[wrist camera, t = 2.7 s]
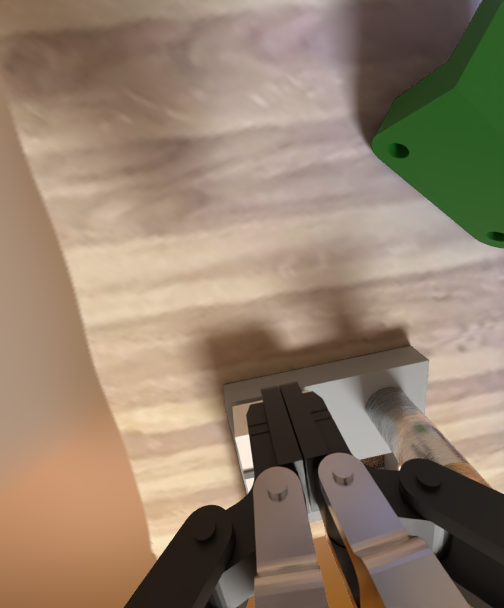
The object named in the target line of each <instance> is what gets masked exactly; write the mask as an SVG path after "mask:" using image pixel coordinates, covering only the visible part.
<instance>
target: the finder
mask: <svg viewBox="0 0 504 608" xmlns="http://www.w3.org/2000/svg"><path fill="white" fill-rule="evenodd" d="M306 392H309V391H303V392H302V393H306ZM260 402H263V401H262V400H261V401H256V402H251V403H247V404H242V405H237V406H233V407H232V409H233V421H234V433H235V440H236V444H237V448H238V452H239V456H240V460H241V464H242V468H243V474H244V478H245V481H246V485H247V489H248V493H249V491H250V490H251V488H252V485H253V482H254V468H253V461H252V454H251V447H250V440H249V433H248V425H247V418H246V414H247V411H248V409H249V406H250V405H251V404H256V403H260Z"/></svg>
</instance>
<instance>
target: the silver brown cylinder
mask: <svg viewBox="0 0 504 608" xmlns="http://www.w3.org/2000/svg"><path fill="white" fill-rule="evenodd" d="M365 409H366V414H367V415H368V417H369V418H370V420H371V421H372V423H373V424H374V426H375V427H376V429H377V430H378V432H379V433H380V435H381V436H382V438H383V439H384V441H385V442H386V444H387V445H388V447H389V448H390V450H391V451H392V453H393V454H394V456H395V457H396V459H397V460H398V462H399V463H400V465H401V466H402V465H403V463H405V462H406V461H408V460H410V459H415V458H422V459H428V460H431V461H434V462H436V463H438V464H440V465H443V466H445V467H447V468H449V469H451V470H453V471H455V472H457V473H460V474H462V475H464V476H466V477H468V478H470V479H472V480H474V481H477V482H479V483H481V484H483V485H485V486H487V487H489V488H492V487H491V486H490V485H489V484H488V483H487V482H486V481H485V480H484V479H483V478H482V477H481V476H480V474H479V473H478V472H477V471H476V470H475V469H474V468H473V467H472V466H471V465H470V464H469V463H468V461H467V460H466V459H465V458H464V457H463V456H462V455H461V454H460V453H459V452H458V451H457V449H456V448H455V447H454V446H453V445H452V444H451V443H450V442H449V441H448V440H447V439H446V438H445V436H444V435H443V434H442V433H441V432H440V431H439V430H438V429H437V428H436V427H435V426H434V424H433V423H432V422H431V421H430V420H429V419H428V418H427V417H426V416H425V415H424V414H423V413H422V411H421V410H420V409H419V408H418V407H417V406H416V405H415V404H414V403H413V402H412V401H411V400H410V398H409V397H408V396H407V395H406V394H405V393H404V392H403V391H402V390H401V389H399V388H396V387H386V388H383V389H380V390H378V391H377V392H375V393H374V394H373V395H372V396H371V397H370V398H369V399H368V401H367V403H366V408H365Z"/></svg>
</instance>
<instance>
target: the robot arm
mask: <svg viewBox="0 0 504 608" xmlns="http://www.w3.org/2000/svg"><path fill="white" fill-rule="evenodd" d="M260 390H261V396H262V401H263V402H260V403H256V404H251V405H250V406H249V409H248V411H247V414H246V418H247V425H248V433H249V440H250V447H251V454H252V461H253V468H254V482H253V485H252V488H251V490H250V491H249V493H248V494H247V495H246V496H245V497H244V498H243V499H242V500H241V501H239V502H238V503H236V504H235V505H233V506H232V507H230V508H228V509H227V510H225V509H223V508H222V507H220V506H217V505H207V506H203V507H201V508H199V509H197V510H196V511H194V512H193V513H192V514H191V515H190V516H189V517H188V518H187V520H186V521H185V522H184V524H183V525H182V527H181V528H180V529H179V531H178V532H177V534H176V535H175V536H174V538H173V539H172V541H171V542H170V543H169V545H168V546H167V548H166V549H165V550H164V552H163V553H162V555H161V556H160V557H159V559H158V560H157V562H156V563H155V564H154V566H153V567H152V569H151V570H150V572H149V573H148V574H147V576H146V577H145V579H144V580H143V581H142V583H141V584H140V585H139V587H138V588H137V590H136V591H135V592H134V594H133V595H132V597H131V598H130V600H129V601H128V603H127V604H126V605H125V606H124V608H245V607H246V605H247V603H248V599H249V598H250V597H251V596H252V595H254V594H255V608H329V607H328V602H327V598H326V593H325V588H324V584H323V580H322V575H321V571H320V567H319V565H318V561H317V557H316V552H315V547H314V543H313V538H312V533H311V529H310V524H309V519H308V513H310V509H309V504H310V507H311V511H312V512H316V511H320V513H321V516H322V519H323V523H324V527H325V535H326V539H327V542H328V544H329V547H330V549H331V552H332V554H333V557H334V559H335V562H336V564H337V567H338V569H339V572H340V575H341V577H342V580H343V582H344V585H345V587H346V590H347V592H348V595H349V597H350V600H351V602H352V605H353V608H470V606H469V605H468V604H470V605H471V606H472V607H474V608H504V494H502V493H500V492H498V491H496V490H494V489H492V488H489V487H487V486H485V485H483V484H481V483H479V482H477V481H474V480H472V479H470V478H468V477H466V476H464V475H462V474H460V473H457V472H455V471H453V470H451V469H449V468H447V467H445V466H443V465H440V464H438V463H436V462H434V461H431V460H428V459H422V458H415V459H410V460H408V461H406V462H405V463H403V465H402V466H401V468H400V471H396V470H384V469H376V468H372V467H369V466H367V465H365V464H363V463H362V462H361V461H360V460H359V459H357V458H356V457H354V456H353V455H352V453H351V452H350V450H349V448H348V446H347V444H346V442H345V440H344V438H343V436H342V435H341V433H340V431H339V429H338V427H337V425H336V423H335V421H334V419H333V418H332V416H331V414H330V412H329V411H328V408H327V406H326V404H325V402H324V400H323V398H321V397H320V396H319V395H317V394H316V393H315V392H314V391H311V392H306V393H302V391H301V389H300V386H299V384H298V382H297V381H294V382H289V383H285V384H280V385H279V387H278V385H276V386H271V387H266V388H262V389H260ZM308 501H309V502H308Z"/></svg>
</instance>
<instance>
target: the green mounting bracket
mask: <svg viewBox="0 0 504 608" xmlns="http://www.w3.org/2000/svg"><path fill="white" fill-rule="evenodd" d="M372 149H373V152H374V153H375V155H376V156H377V157H378V158H379V159H380V160H381V161H382V162H384V163H385V164H386V165H387V166H388V167H390V168H391V169H392V170H393V171H394V172H396V173H397V174H398V175H399V176H400V177H402V178H403V179H404V180H405V181H406V182H408V183H409V184H410V185H411V186H412V187H414V188H415V189H416V190H417V191H418V192H420V193H421V194H422V195H423V196H425V197H426V198H427V199H428V200H429V201H431V202H432V203H433V204H434V205H435V206H437V207H438V208H439V209H440V210H441V211H443V212H444V213H445V214H446V215H447V216H449V217H450V218H451V219H452V220H453V221H455V222H456V223H457V224H458V225H459V226H461V227H462V228H463V229H464V230H465V231H467V232H468V233H469V234H470V235H472V236H473V237H474V238H475V239H477V240H478V241H480V242H482V243H484V244H487V245H490V246H494V247H498V248H504V0H482V2H481V4H480V5H479V7H478V9H477V11H476V13H475V14H474V16H473V18H472V20H471V22H470V23H469V25H468V27H467V29H466V31H465V33H464V34H463V36H462V38H461V40H460V42H459V43H458V45H457V47H456V49H455V51H454V52H453V54H452V56H451V58H450V60H449V61H447V62H446V63H445V64H443V65H442V66H440V67H439V68H438V69H436V70H435V71H433V72H432V73H431V74H429V75H428V76H426V77H425V78H424V79H422V80H421V81H420V82H418V83H417V84H415V85H414V86H413V87H411V88H410V89H408V90H407V91H406V92H404V93H403V94H402V95H400V96H399V97H398V98H396V100H395V101H394V102H393V104H392V106H391V108H390V110H389V111H388V113H387V115H386V117H385V119H384V120H383V122H382V124H381V126H380V128H379V130H378V131H377V133H376V135H375V137H374V139H373V141H372Z"/></svg>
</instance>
